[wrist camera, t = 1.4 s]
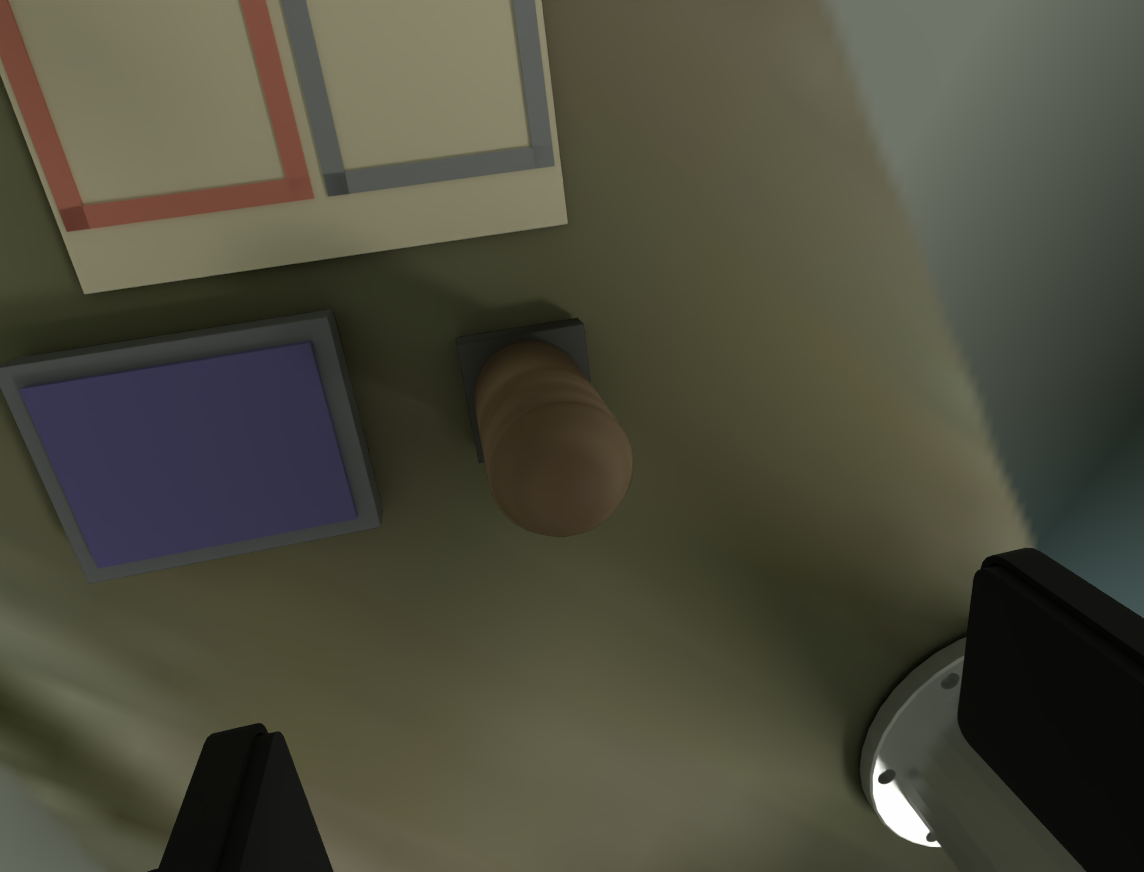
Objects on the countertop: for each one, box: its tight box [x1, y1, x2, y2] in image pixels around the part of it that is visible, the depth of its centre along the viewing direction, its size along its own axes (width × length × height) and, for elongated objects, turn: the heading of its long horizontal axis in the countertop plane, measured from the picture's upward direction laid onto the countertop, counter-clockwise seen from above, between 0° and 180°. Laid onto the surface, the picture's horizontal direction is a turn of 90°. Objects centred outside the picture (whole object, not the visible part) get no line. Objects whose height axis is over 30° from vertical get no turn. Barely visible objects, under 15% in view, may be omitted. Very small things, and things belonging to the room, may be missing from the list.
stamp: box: [456, 318, 633, 537], centre depth 20 cm, size 4×4×8 cm
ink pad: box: [0, 309, 383, 584], centre depth 22 cm, size 9×7×2 cm
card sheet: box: [0, 0, 568, 294], centre depth 19 cm, size 14×10×1 cm
